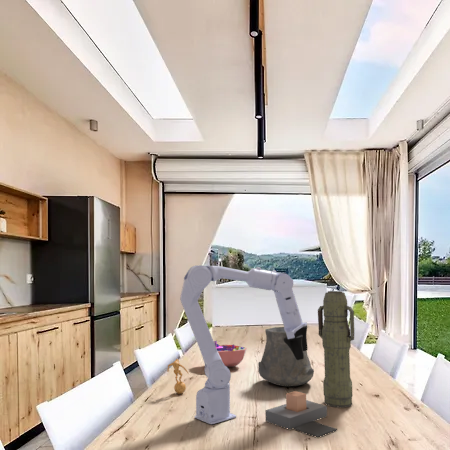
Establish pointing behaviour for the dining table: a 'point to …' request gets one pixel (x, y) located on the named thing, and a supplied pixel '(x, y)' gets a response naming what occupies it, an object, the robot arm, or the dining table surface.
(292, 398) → the terracotta block
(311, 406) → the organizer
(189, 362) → the dining table surface
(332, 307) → the thermos
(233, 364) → the cell model
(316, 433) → the coaster
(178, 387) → the figurine
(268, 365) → the vessel
